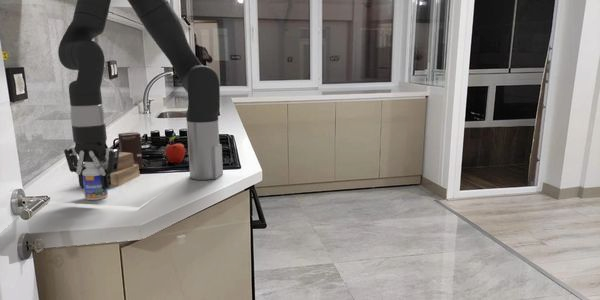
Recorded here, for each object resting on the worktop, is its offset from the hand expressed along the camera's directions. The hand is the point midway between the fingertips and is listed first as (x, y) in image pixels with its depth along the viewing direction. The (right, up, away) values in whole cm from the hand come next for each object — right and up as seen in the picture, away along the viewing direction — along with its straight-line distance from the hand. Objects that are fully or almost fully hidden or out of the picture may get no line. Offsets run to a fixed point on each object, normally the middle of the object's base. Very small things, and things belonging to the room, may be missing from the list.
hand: (95, 188), depth 107 cm
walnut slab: (-3, +4, +16) cm, 17 cm away
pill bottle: (0, -3, +1) cm, 3 cm away
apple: (+10, +5, +37) cm, 38 cm away
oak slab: (-3, 0, +17) cm, 17 cm away
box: (-2, +3, +28) cm, 28 cm away
